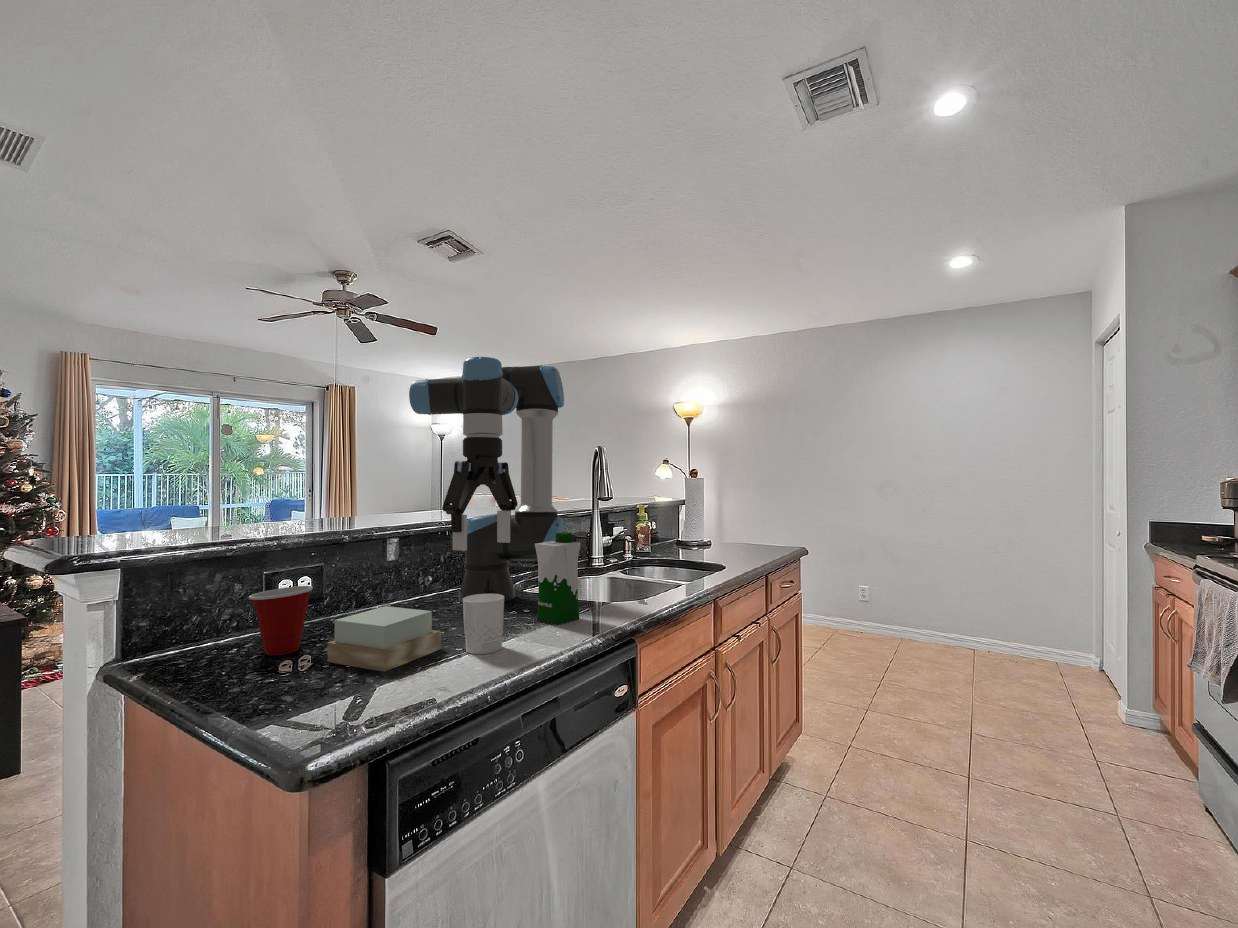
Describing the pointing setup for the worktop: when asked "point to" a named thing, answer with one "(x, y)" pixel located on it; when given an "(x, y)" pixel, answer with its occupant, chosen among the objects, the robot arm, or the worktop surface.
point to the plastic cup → (281, 618)
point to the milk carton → (558, 580)
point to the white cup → (483, 622)
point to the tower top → (383, 627)
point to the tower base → (384, 652)
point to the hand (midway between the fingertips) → (483, 546)
